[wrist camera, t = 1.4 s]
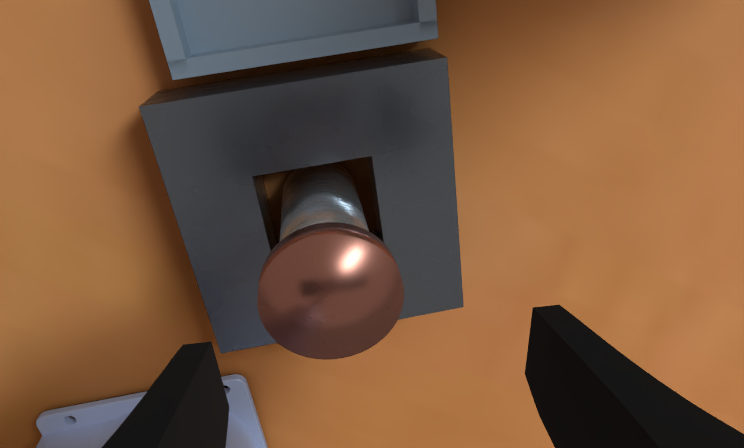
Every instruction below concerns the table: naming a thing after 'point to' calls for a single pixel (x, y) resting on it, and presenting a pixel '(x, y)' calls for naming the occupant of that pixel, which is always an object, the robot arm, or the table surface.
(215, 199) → the hitch block
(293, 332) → the pin
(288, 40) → the tray
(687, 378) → the table surface
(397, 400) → the table surface
